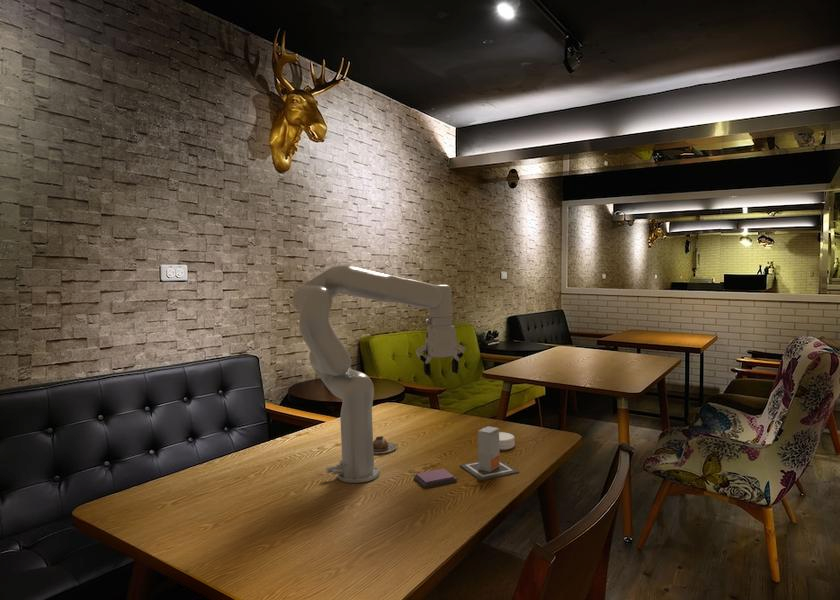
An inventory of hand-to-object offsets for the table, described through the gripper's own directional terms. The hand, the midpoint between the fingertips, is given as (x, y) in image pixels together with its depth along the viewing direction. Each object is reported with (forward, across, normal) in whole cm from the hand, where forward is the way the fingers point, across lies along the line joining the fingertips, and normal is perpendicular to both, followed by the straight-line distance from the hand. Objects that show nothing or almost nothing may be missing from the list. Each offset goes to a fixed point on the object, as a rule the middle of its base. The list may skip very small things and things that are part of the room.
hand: (441, 373), depth 176 cm
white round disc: (+27, +22, 0) cm, 35 cm away
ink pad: (+27, -11, -19) cm, 35 cm away
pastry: (+28, -18, +15) cm, 36 cm away
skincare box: (+27, +8, -18) cm, 33 cm away
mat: (+27, +7, -18) cm, 33 cm away
